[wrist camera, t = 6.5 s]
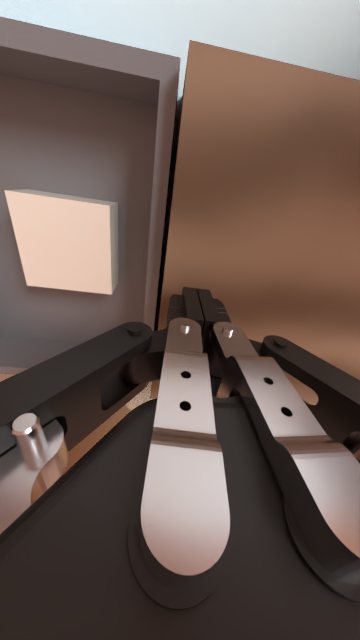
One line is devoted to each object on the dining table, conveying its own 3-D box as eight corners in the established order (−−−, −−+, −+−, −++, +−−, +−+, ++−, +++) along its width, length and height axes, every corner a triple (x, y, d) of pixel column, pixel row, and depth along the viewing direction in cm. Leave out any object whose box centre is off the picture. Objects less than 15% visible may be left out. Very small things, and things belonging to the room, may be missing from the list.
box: (-108, 33, 12) (-244, -40, 8) (177, 94, 13) (180, 57, 9) (-2, 337, 22) (-38, 370, 18) (151, 351, 24) (148, 384, 20)
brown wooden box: (182, 95, 13) (190, 40, 8) (442, 150, 15) (579, 133, 10) (154, 351, 24) (150, 398, 18) (311, 365, 25) (346, 411, 20)
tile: (109, 205, 13) (117, 202, 16) (4, 190, 13) (27, 189, 15) (111, 294, 17) (118, 282, 19) (27, 285, 16) (43, 273, 18)
